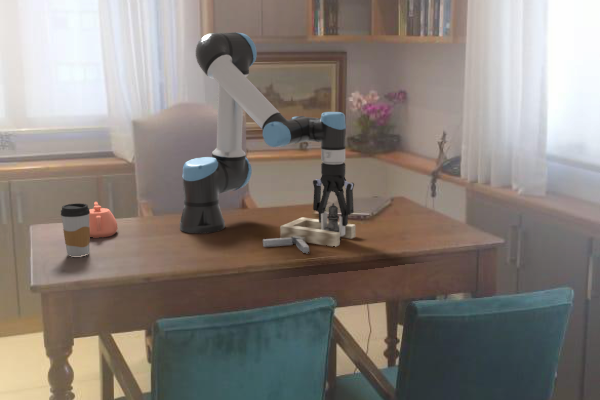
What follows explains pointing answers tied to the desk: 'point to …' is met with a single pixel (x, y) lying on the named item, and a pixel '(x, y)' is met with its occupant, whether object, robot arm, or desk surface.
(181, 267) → the desk surface
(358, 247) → the desk surface
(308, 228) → the bracket
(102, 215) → the teapot
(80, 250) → the coffee cup
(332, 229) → the grey tall rounded piece
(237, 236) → the desk surface
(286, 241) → the v block
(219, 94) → the robot arm
